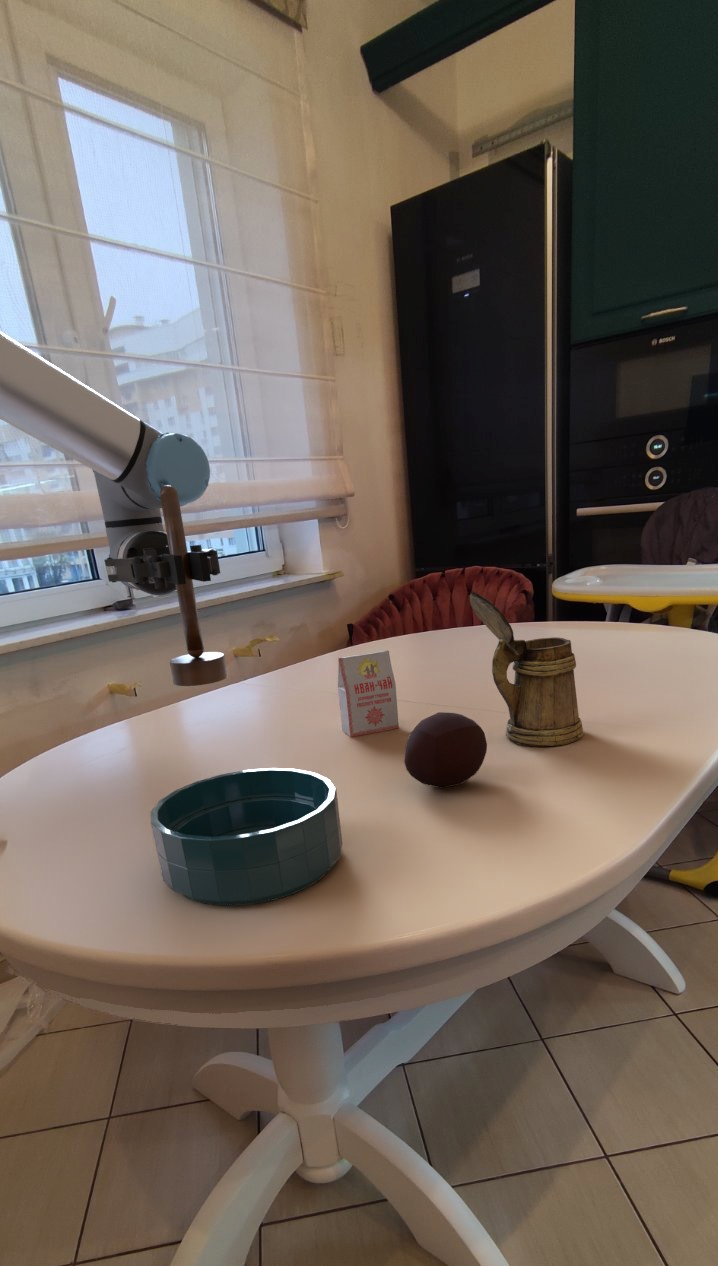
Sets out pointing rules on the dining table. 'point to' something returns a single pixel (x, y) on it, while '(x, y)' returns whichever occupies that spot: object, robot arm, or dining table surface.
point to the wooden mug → (533, 682)
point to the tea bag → (367, 694)
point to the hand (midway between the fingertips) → (192, 568)
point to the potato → (445, 750)
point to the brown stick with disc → (188, 608)
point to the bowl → (247, 835)
